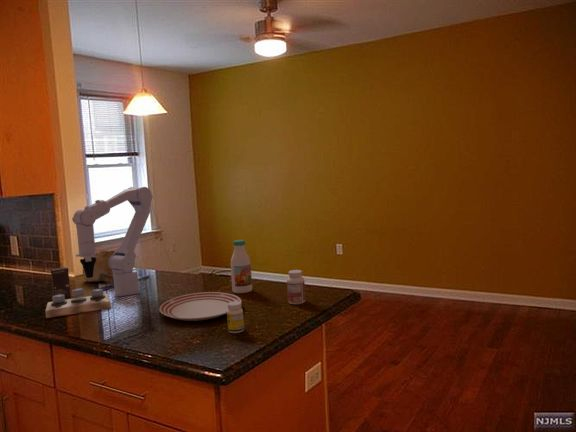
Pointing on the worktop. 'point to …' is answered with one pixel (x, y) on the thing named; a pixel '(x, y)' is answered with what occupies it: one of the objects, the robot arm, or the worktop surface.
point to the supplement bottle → (235, 317)
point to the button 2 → (97, 292)
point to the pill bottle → (296, 287)
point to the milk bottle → (240, 268)
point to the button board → (77, 305)
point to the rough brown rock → (101, 268)
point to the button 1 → (58, 298)
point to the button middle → (77, 292)
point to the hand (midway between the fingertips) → (89, 277)
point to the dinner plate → (198, 306)
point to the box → (60, 281)
